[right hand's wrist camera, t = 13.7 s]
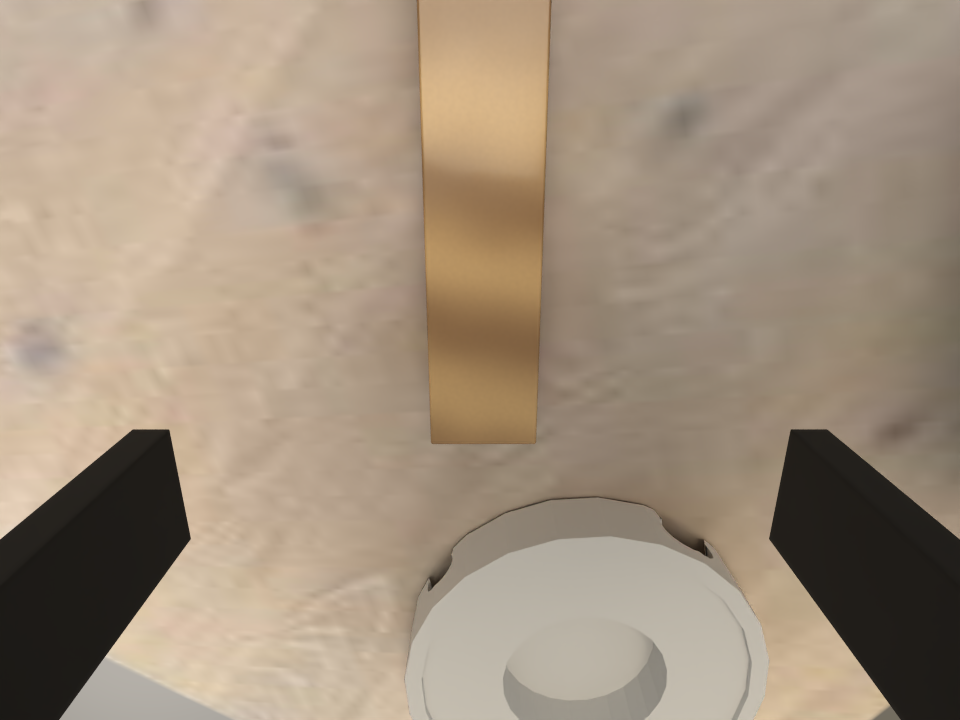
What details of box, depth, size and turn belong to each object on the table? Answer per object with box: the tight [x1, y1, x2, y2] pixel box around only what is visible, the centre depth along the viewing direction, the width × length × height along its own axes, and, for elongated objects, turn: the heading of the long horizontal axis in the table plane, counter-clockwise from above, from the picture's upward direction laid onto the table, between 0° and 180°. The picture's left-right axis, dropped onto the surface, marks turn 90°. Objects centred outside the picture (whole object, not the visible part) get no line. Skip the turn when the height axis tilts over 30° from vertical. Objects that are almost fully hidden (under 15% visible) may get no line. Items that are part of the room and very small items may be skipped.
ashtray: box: [405, 497, 769, 720], centre depth 40 cm, size 23×23×4 cm
